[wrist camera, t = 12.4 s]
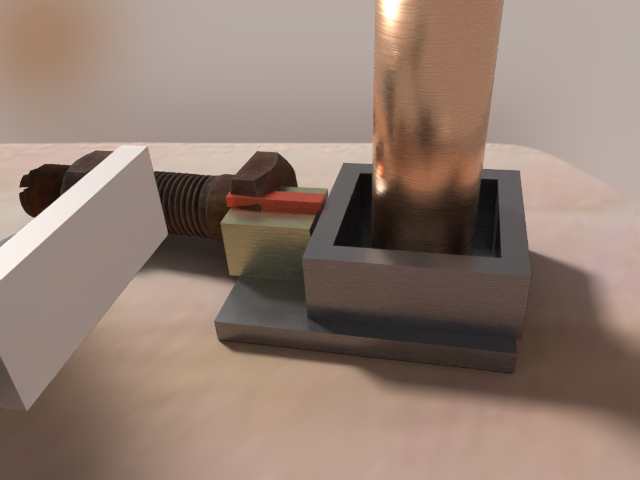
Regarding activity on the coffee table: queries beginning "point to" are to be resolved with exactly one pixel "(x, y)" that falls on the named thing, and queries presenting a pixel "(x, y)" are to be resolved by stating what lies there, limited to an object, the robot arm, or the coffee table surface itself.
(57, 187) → the bolt
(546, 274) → the coffee table surface
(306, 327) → the grey box on baseplate
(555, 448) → the coffee table surface
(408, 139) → the pipe stub
